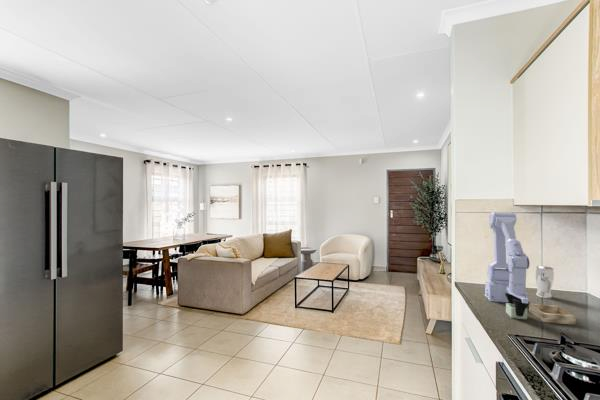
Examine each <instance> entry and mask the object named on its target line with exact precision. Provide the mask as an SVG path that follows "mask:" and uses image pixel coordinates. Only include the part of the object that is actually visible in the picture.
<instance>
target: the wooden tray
mask: <svg viewBox="0 0 600 400" xmlns="http://www.w3.org/2000/svg"><path fill="white" fill-rule="evenodd" d="M528 311H529V312H530V313H531V314H532V315H534V317H536V318H537V319H538V320H539V321H541V322H543V323H551V324H552V323H553V324H564V325H573V326H575V325H576V322H577V316H576V315H574V314H572V313H571V312H569V311H568V310H566V309H565V308H564V307H562V306H560V305H553V304H542V303H530V304H529V305H528Z"/></svg>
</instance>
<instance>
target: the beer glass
mask: <svg viewBox="0 0 600 400" xmlns="http://www.w3.org/2000/svg"><path fill="white" fill-rule="evenodd" d="M554 275H555V273H554V267H550V266H547V265H537V266H536V270H535V281H536V286H537V290H536V293H535V295H536V296H537V297H539V298H543V299H552V293H551V292H552V286H553V283H554V277H555V276H554Z"/></svg>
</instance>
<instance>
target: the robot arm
mask: <svg viewBox="0 0 600 400" xmlns="http://www.w3.org/2000/svg"><path fill="white" fill-rule="evenodd" d="M488 217H489V219H488V220H489V229H492V230H493V251H494V252H493V253H494V255H493V257H494V261H493V262H492V263H490V264H489V265H488V267H487V278H488V279H489V280H487V281H485V285H484V286H485V287H484V296H485V297H486V298H487V299H488V300H489V301H490V302H497V303H510V304H515V310H516V315H517V316H523V314H524V311H525V309H526V308H527V307H529V304H531V302H530V301H529V298H528V296H529V293H528V292H526V289H527V288H526V287H527V286H526V285H527V284H526V283H527V270H528V269H529V268H530V258H529V256H528V255H527V254H526V253H524V250H523V247H522V243H521V241H519V240H518V239H517V236H516V231H515V226H516V223H517V215H516V214H515V213H514V212H508V211H507V212H505V211H504V212H503V211H502V212H501V211H498V212H497V211H491V212H490V214H489V216H488ZM507 255H508V257H507Z"/></svg>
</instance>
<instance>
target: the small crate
mask: <svg viewBox="0 0 600 400" xmlns="http://www.w3.org/2000/svg"><path fill="white" fill-rule="evenodd" d="M528 311H529V308H527V307H526V309H525V311H524V314H523V316H517V315H516V310H515V304H510V303H507V302H505V314H506V315H507V316H508V317H509V318H511V319H518V320H519V319H520V320H528Z"/></svg>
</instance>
